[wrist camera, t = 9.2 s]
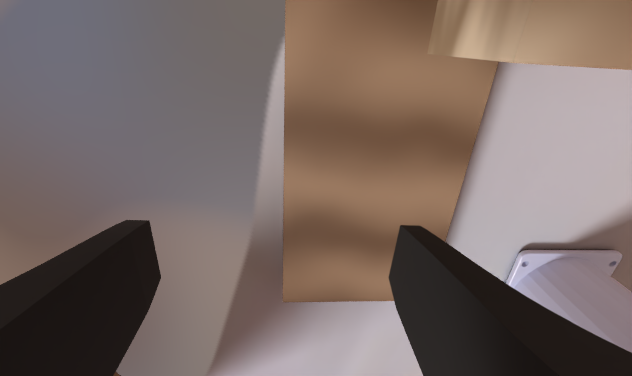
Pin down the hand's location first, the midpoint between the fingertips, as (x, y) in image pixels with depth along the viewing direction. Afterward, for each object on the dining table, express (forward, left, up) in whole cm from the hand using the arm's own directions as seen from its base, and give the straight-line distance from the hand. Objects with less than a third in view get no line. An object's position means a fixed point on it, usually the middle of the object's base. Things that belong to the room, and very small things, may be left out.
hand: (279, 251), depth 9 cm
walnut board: (+1, -5, -10) cm, 11 cm away
